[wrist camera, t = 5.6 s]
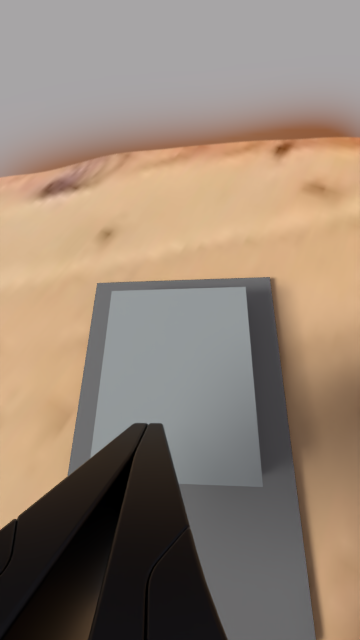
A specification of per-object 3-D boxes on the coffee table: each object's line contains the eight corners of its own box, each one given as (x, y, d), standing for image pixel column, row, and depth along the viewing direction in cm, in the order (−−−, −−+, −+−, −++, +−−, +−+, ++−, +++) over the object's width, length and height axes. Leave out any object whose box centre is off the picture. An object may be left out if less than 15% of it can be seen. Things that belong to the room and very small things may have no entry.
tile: (262, 486, 12) (245, 286, 15) (87, 480, 12) (111, 290, 16) (254, 478, 14) (241, 302, 17) (103, 473, 14) (121, 305, 18)
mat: (313, 643, 11) (317, 650, 11) (49, 619, 13) (44, 625, 12) (268, 280, 18) (269, 277, 18) (99, 285, 19) (97, 283, 19)
